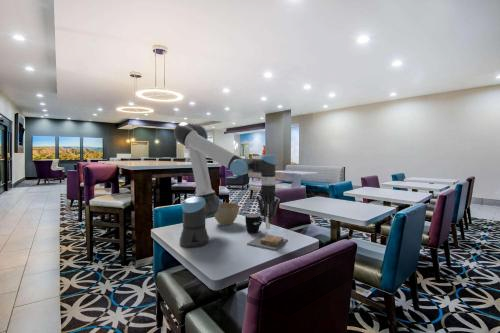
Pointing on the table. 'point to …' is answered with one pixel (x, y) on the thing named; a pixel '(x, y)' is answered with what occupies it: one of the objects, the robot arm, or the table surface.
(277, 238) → the tile
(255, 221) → the mug
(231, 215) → the flower pot
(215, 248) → the table surface
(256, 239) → the mat
